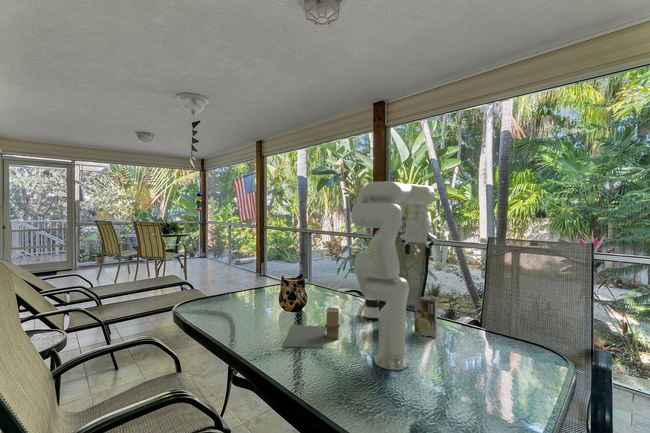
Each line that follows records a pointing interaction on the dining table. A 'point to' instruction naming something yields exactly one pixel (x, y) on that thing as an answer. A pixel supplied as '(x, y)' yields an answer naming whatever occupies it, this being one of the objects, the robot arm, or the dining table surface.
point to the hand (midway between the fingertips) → (417, 255)
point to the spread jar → (369, 309)
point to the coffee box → (426, 316)
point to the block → (332, 323)
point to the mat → (305, 337)
